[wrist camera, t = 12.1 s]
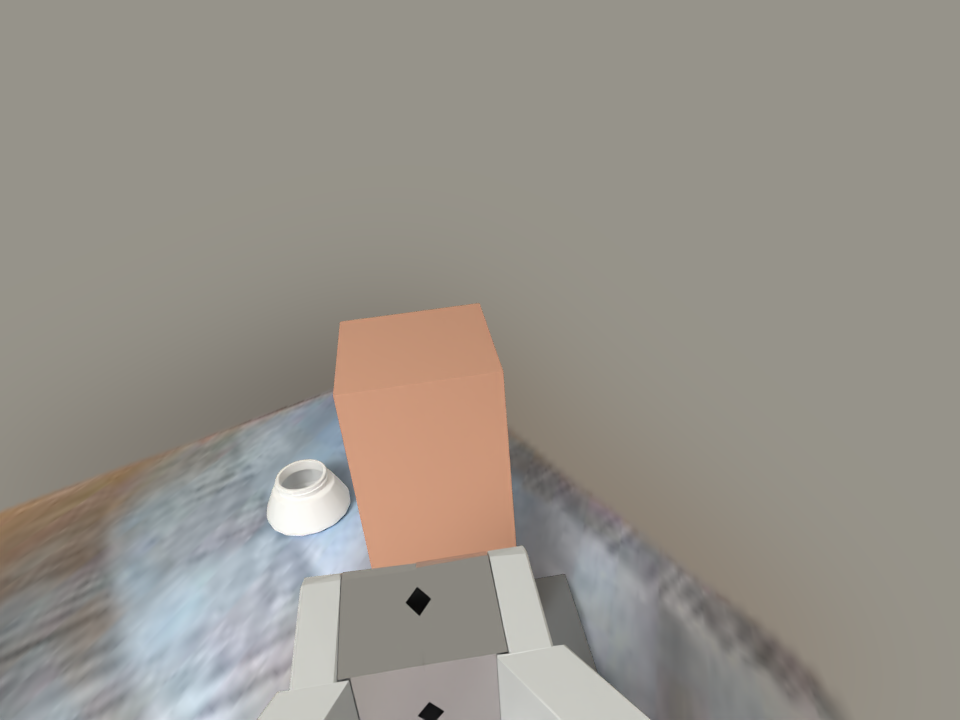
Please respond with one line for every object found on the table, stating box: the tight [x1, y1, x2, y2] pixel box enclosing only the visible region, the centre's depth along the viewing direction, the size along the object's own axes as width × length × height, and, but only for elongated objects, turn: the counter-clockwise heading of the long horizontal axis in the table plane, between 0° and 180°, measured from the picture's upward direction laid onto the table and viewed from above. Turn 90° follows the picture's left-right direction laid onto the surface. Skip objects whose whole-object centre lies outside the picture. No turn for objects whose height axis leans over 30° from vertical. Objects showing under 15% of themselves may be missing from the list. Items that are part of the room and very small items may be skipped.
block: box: [333, 303, 516, 569], centre depth 30 cm, size 6×6×15 cm
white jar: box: [267, 459, 350, 536], centre depth 41 cm, size 5×3×5 cm
